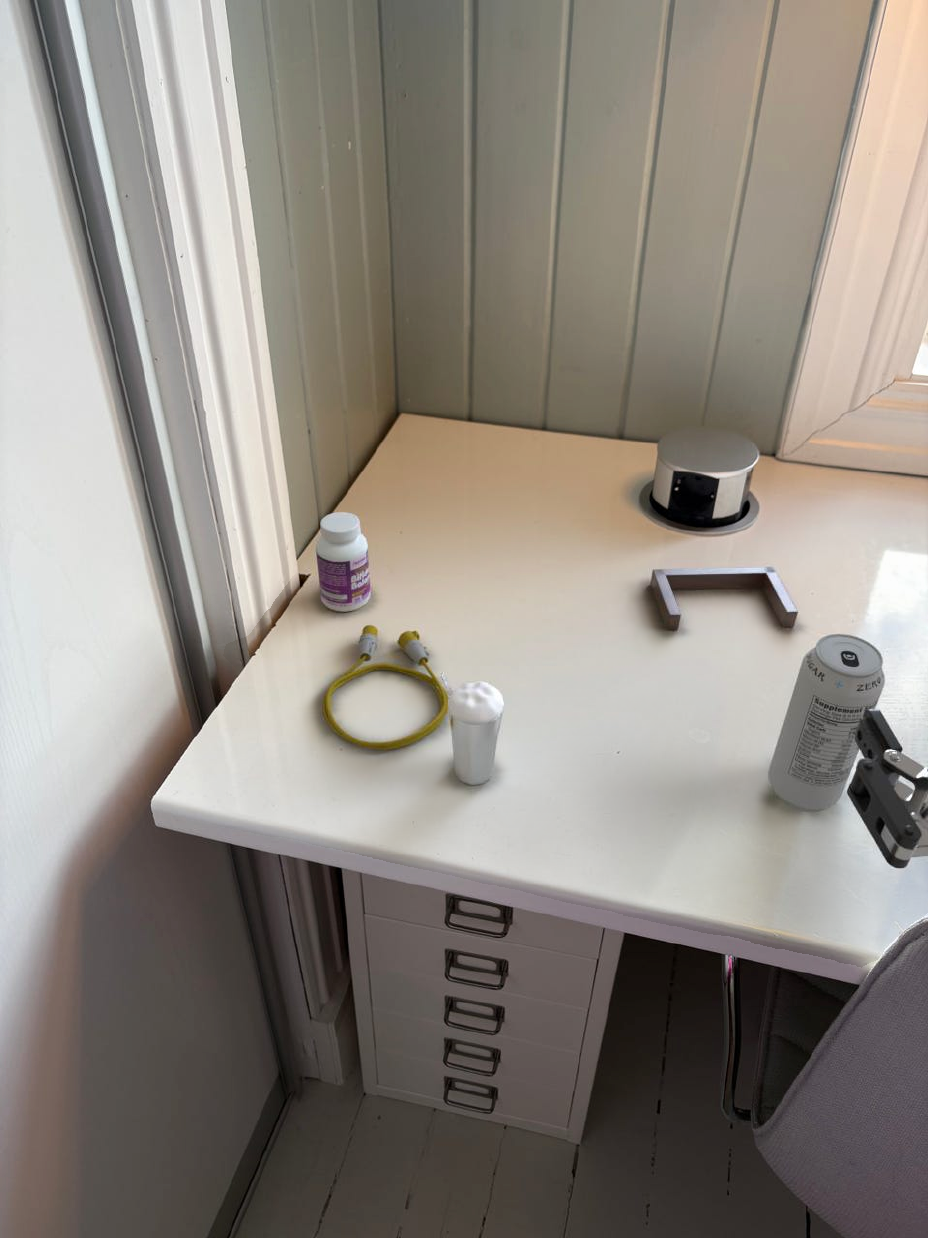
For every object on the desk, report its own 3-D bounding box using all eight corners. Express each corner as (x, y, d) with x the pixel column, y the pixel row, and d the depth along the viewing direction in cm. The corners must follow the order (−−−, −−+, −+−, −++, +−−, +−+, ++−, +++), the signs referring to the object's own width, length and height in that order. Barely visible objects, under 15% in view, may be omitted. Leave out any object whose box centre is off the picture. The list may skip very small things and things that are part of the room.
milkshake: (453, 743, 83) (454, 657, 77) (508, 762, 81) (513, 676, 75) (430, 777, 79) (428, 690, 73) (486, 798, 78) (490, 711, 71)
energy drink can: (834, 768, 81) (883, 633, 71) (844, 821, 76) (898, 685, 67) (763, 759, 81) (803, 624, 72) (768, 811, 77) (812, 674, 68)
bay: (650, 584, 102) (652, 569, 101) (769, 581, 103) (773, 566, 102) (666, 630, 96) (669, 615, 95) (794, 627, 96) (798, 611, 95)
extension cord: (480, 659, 92) (481, 644, 91) (415, 769, 80) (415, 752, 79) (370, 630, 95) (369, 615, 94) (292, 730, 84) (290, 714, 82)
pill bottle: (363, 616, 97) (358, 538, 91) (314, 610, 98) (306, 533, 92) (376, 586, 101) (372, 510, 95) (329, 581, 102) (322, 505, 96)
